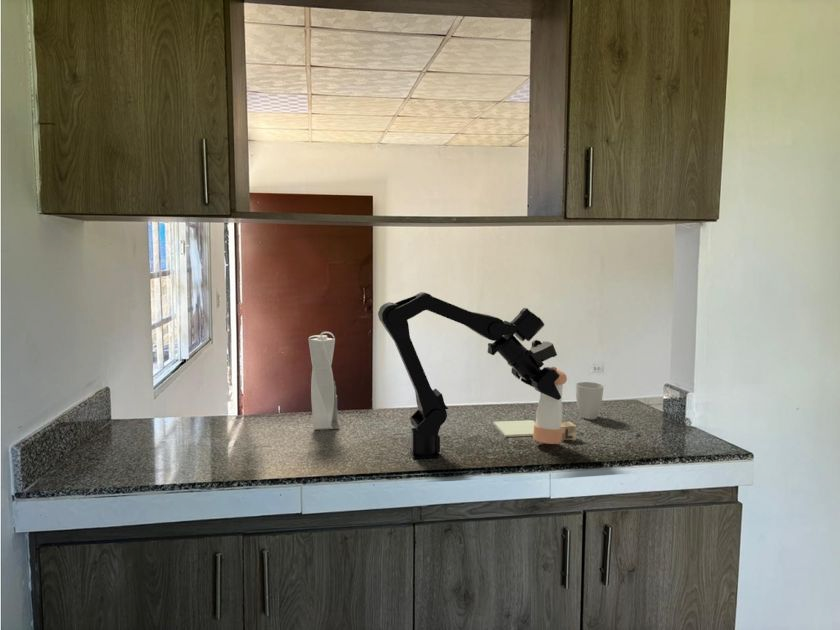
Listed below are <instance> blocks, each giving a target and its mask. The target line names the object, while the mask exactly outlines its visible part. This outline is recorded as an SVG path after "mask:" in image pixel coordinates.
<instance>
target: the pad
mask: <svg viewBox="0 0 840 630" xmlns="http://www.w3.org/2000/svg"><path fill="white" fill-rule="evenodd" d="M535 423H536V421H534V419H533V420H532V419H531V420H530V419H529V420H504V421H503V420H502V421H501V420H500V421H493V423H492V424H493V425H494V427H495V428H497V429H498V431H500V433H501V434H502V435H503V436H504V437H505V438H508V437H509V438H513V437H514V438H515V437H533V431H534V424H535Z"/></svg>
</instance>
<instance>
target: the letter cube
mask: <svg viewBox="0 0 840 630" xmlns="http://www.w3.org/2000/svg"><path fill="white" fill-rule="evenodd" d="M561 427H562V438H561V440H562V441H563V442H565V441H564V440H573V441H577V425H576V424H574V423H573V422H571V421H562V423H561ZM562 441H561V442H562Z"/></svg>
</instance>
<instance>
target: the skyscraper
mask: <svg viewBox="0 0 840 630" xmlns="http://www.w3.org/2000/svg"><path fill="white" fill-rule="evenodd" d="M325 334H326V335H325ZM327 334H328V335H331V336H332V338H331V337H328V335H327ZM335 343H336V338H335V336H334V334H333V333H332V332H330V331H322V332H321V333H320V334H315V335H311V336H309V337H308V347H309V353H310V360H311V365H312V366H311V367H312V370H311V378H310V379H311V381H310V399H311V413H312V414H311V416H312V423H313V424H312V425H313V431H314V430H320V431H329V430H328V429H338V430H340V426H339V425H340V424H339V421H338V417H339V414H338V413H339V411H338V395H337V386H336V381H335V380H334V374H333V368H332V365H333V364H332V363H333V359H334V352H335V345H336V344H335Z"/></svg>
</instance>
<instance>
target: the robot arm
mask: <svg viewBox="0 0 840 630" xmlns="http://www.w3.org/2000/svg"><path fill="white" fill-rule="evenodd" d="M424 311H428V312H431V313H434V314H436V315H439V316H441V317H444V318H445V319H449V320H451V321H454V322H456V323H459V324H462V325H464V326H465V327H467V328H469V329H470V330H471V331H473V332H474V333H476V334H478V335H479V336H481V337H483V338H485V339H487V340H489V341H491V342H488V343H487V354H489V355H491V356H495V355H496V354H497V353H498V354H499V355H500V356H501V357H502V358H503V359H504V360H505V361H506V362H507V365H508V366H510V367H511V375H513V376H514V377H515V378H516V379H518V380H520V381H521V382H522V383H524V384H526V385H528V386H530V387H532V388H534V390H535V391H537V392H538V393H540V394H541V393H543V394H545V395H548V396H550V397H552V398H554V399H557V400H559V399H560V398H561V395H560V393H559V392H558V390H557V388H556V386H555V383H554V382H555V381H556V380H557V379H558V378H559V376H560V375H559V374H558V373H557V372H556V371H555V370H554V369H552V368H551V367H549V366H544V365H545V363H544V362H545V361H547V360H549V359H551V358H555V357H557V355H558V353H557V351H556V348H555V346H554V344H553V343H552V342H551V341H540V340H538V339H535V340H533V341H531V340H532V339H533V338H534V337H535V336H536V335H537V334H538V333H539V332H540V331H541V330H542V329H543V328H544V327H545V322H544V321H543V320H542V319H541V318H540V317H539V316H537V315H536V314H535V313H533V311H530V309H528V308H527V307H523V308H522V309H521V310H520V311H519V312H518V314H517V315H516V316H515V317H514V318H513V319H512V320H511V321H507V320H502V319H501V318H499V317H496V316H493V315H491V314H486V313H480V312H473V311H469V310H467V309H465V308H462V307H459V306H458V305H454V304H453V303H450V302H447V301H445V300H442V299H440V298H437V297H435V296H432V295H431V294H430V293H427V292H423V291H422V292H421V291H420V292H419V293H417V294H415V295H413V296H410V297H407V298H403V299H401V300H399V301H397V302H395V303H394V302H385V303H383V304H382V305H381V306H380V307H379V310H378V311H377V312H378V313H377V316H378V320H379V321H380V322H381V324H382V326H383V327H384V329H385V330H386V332H387V333H388V334H389V336H390V338H391V339H392V341H393V342H394V344H395V347H396V349H397V352H398V353H399V356H400V358H401V360H402V364H403V365H404V368H405V370H406V373H407V375H408V377H409V380H410V382H411V384H412V387H413V389H414V393H415V400H416V406H417V410H416V411H415V412H413V414H412V415H411V416H410V417H409V421H410V423H411V425H412V427H411V432H410V433H411V435H410V436H411V437H410V441H411V443H410V448H409V451H410V454H411V456H412V459H437V458H440V452H441V436H440V434H439V433H440V429H441V426H442V425H443V424H444V423H445V422H446V420H447V418H448V411H447V410H449V407H448V406H446V403H445V401H444V400H445V399H444V396H443V393H441V392H440V390H438V389H437V388H434V389H432V387H431V385H430V382H429V380H428V377H427V375H426V372H425V370H424V368H423V365H422V363H421V360H420V358H419V356H418V353H417V350H416V349H415V346H414V344H413V341H412V338H411V336H410V328H409V327H410V325H409V322H408V320H410V319H412V318H414V317H417V315H419V314H421V313H422V312H424ZM519 340H520V341H519ZM525 340H526V341H527V342H530V341H531V347H530V348H529V349H528V348H526V347H525V346H524V345H523V344H522V343H521V342H525ZM493 341H494V342H493ZM543 366H544V367H543ZM542 367H543V368H542Z"/></svg>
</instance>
